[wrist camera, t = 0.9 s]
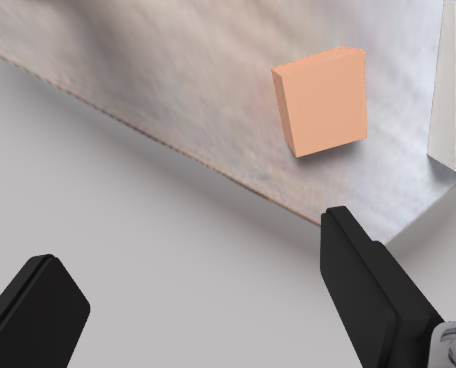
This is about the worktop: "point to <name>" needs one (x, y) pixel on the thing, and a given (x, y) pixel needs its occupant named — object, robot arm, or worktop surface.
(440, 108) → the board
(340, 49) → the peach block
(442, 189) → the worktop surface
